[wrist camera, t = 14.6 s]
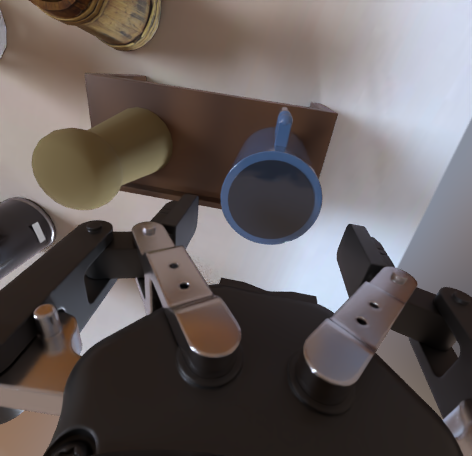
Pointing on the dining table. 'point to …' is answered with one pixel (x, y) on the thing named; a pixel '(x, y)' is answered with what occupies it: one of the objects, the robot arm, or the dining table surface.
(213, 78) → the dining table surface
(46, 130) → the dining table surface
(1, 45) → the french press
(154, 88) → the brown wooden shelf
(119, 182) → the olive green peg figure
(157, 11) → the wooden mug
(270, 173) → the cup
